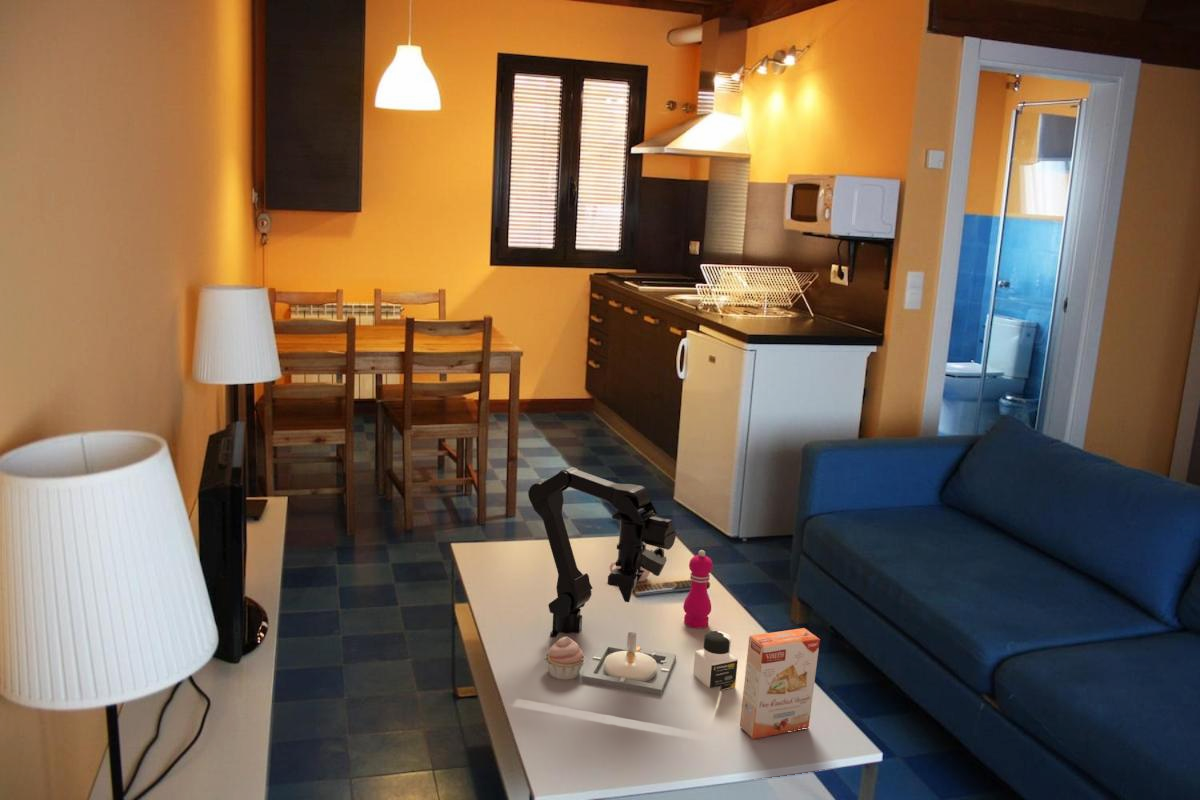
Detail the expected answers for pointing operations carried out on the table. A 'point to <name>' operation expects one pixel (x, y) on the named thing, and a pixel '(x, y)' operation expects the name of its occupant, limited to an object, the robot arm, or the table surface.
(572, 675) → the cupcake
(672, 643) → the table surface
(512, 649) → the table surface
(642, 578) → the mug
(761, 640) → the cracker box
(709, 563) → the pepper mill
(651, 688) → the dial panel
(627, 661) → the dial
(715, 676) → the medicine bottle
